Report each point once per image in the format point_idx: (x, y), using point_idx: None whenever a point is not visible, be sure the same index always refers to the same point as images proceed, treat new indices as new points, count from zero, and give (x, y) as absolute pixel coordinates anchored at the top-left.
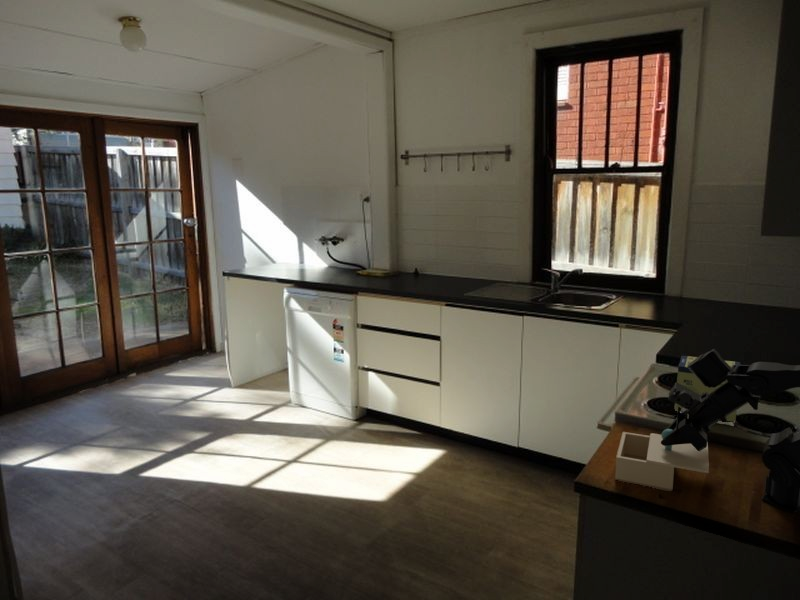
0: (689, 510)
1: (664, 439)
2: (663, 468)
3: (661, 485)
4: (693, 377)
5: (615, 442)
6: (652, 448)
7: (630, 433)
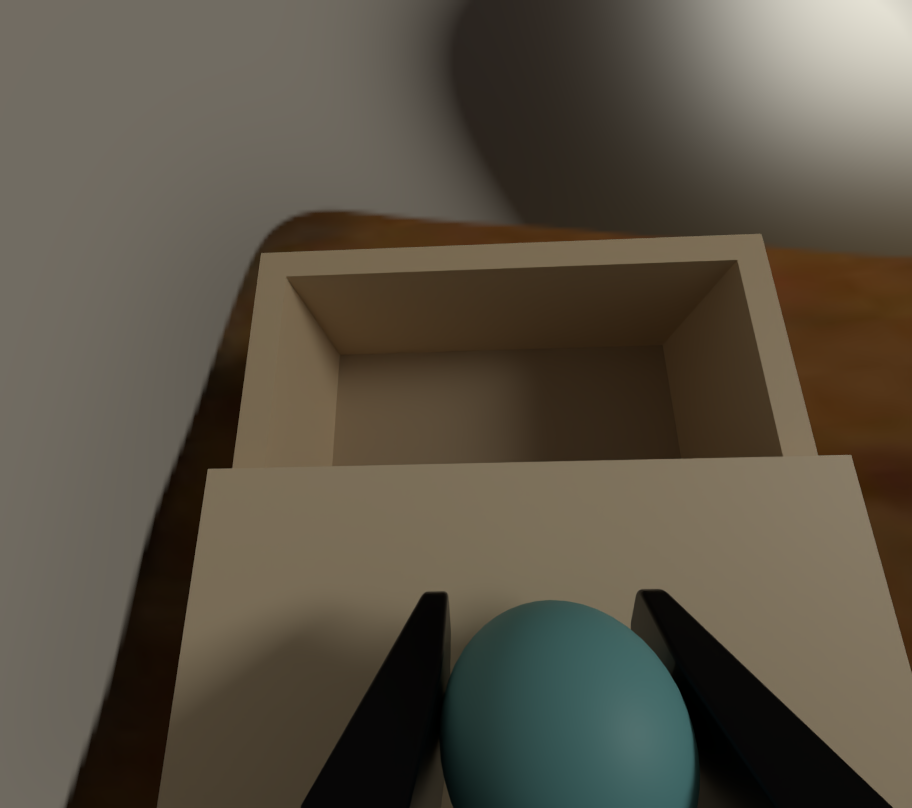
0: (92, 802)
1: (389, 655)
2: None
3: None
4: None
5: (810, 281)
6: (477, 503)
7: (763, 291)
